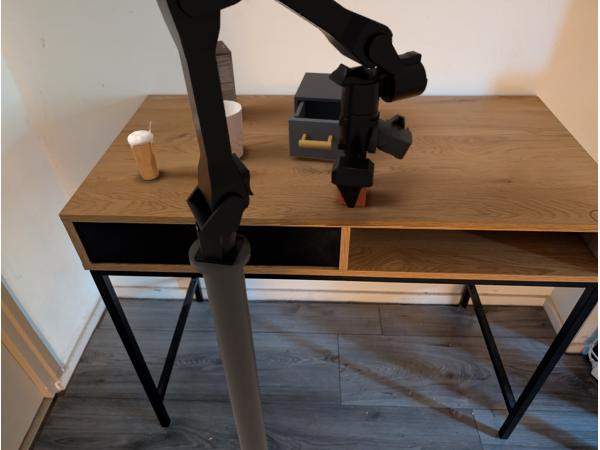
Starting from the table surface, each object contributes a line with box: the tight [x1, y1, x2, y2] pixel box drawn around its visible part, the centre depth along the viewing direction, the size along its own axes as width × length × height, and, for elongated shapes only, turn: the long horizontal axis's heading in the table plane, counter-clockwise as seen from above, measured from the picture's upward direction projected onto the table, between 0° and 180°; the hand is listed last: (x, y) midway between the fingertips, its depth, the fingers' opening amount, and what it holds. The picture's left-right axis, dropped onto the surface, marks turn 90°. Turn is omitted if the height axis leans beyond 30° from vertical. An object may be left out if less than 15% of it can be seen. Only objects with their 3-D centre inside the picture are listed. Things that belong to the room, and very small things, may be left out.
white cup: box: [224, 101, 244, 159], centre depth 87 cm, size 8×8×10 cm
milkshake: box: [127, 121, 160, 181], centre depth 81 cm, size 5×5×10 cm
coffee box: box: [216, 40, 238, 103], centre depth 100 cm, size 9×6×16 cm
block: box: [339, 187, 368, 207], centre depth 75 cm, size 4×4×4 cm
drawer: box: [287, 101, 345, 160], centre depth 87 cm, size 18×11×8 cm, turn 170°
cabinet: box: [293, 72, 342, 116], centre depth 96 cm, size 15×13×10 cm
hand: (353, 192), depth 76 cm, fingers open, 9 cm apart
